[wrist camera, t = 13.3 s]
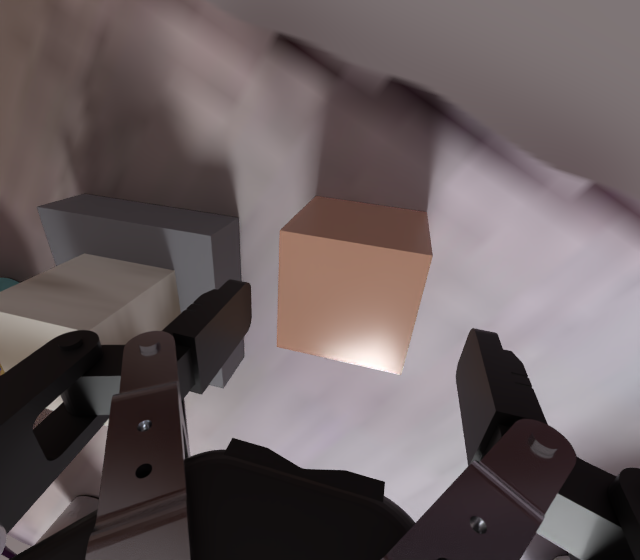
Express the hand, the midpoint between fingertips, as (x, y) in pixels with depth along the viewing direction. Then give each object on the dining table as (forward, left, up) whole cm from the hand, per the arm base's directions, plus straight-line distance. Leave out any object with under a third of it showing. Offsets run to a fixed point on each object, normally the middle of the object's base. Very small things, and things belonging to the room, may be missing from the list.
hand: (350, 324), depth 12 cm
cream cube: (-4, +12, -3) cm, 13 cm away
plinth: (-4, +12, -6) cm, 15 cm away
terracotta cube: (0, 0, -7) cm, 7 cm away
